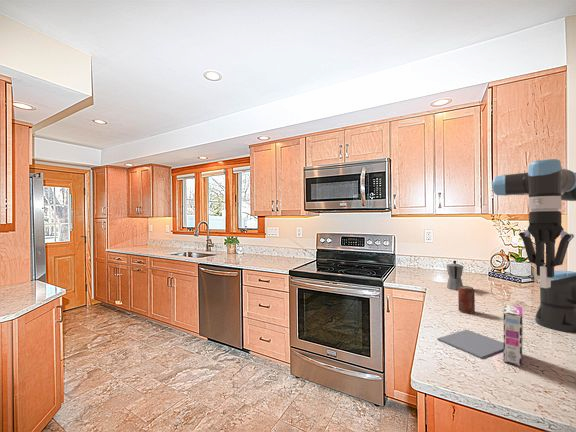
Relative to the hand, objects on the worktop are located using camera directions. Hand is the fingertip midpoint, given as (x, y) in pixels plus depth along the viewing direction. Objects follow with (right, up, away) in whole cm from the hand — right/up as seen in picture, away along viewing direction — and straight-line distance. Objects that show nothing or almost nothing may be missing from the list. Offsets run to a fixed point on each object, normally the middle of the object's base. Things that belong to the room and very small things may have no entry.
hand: (545, 287), depth 89 cm
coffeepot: (+28, -25, +96) cm, 103 cm away
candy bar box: (-3, -26, +8) cm, 28 cm away
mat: (-10, -26, +19) cm, 34 cm away
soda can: (+9, -26, +54) cm, 61 cm away
